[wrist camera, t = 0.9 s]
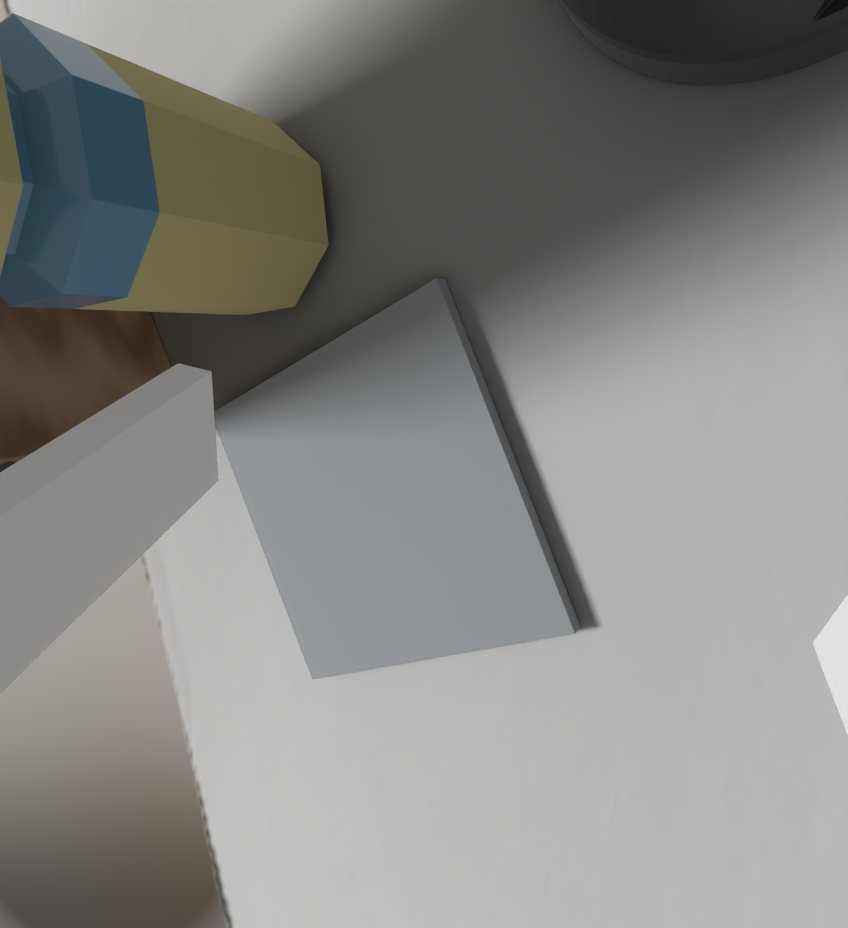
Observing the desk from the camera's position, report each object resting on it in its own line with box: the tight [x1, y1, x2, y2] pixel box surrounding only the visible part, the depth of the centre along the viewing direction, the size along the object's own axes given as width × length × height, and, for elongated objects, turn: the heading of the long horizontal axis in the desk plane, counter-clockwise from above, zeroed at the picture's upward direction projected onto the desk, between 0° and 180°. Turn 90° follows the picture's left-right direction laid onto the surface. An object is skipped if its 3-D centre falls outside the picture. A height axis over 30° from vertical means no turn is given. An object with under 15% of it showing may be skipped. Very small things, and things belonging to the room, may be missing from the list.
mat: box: [214, 278, 580, 679], centre depth 30 cm, size 16×16×1 cm
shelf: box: [0, 296, 171, 464], centre depth 23 cm, size 14×18×22 cm
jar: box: [0, 13, 329, 315], centre depth 24 cm, size 9×9×15 cm
